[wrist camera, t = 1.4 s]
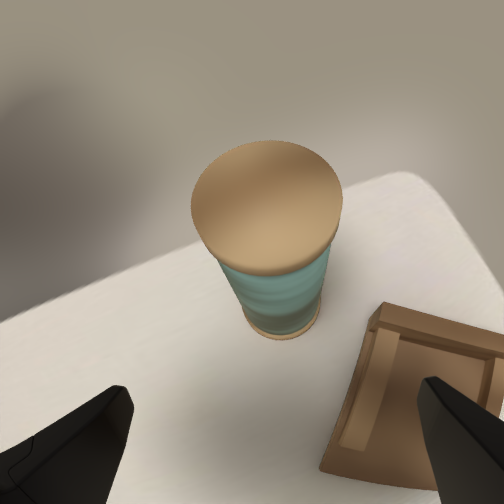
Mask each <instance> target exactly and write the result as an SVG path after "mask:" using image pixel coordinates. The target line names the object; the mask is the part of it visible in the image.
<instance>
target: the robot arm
mask: <svg viewBox="0 0 504 504" xmlns="http://www.w3.org/2000/svg"><path fill="white" fill-rule="evenodd" d="M417 407H418V412H419V417H420V422H421V427H422V432H423V437H424V442H425V446H426V450H427V453H428V457H429V460H430V463H431V467H432V470H433V474H434V477H435V481H436V485H437V488H438V492H439V496H440V500H441V504H504V421H502V420H501V419H499V418H498V417H496V416H495V415H493V414H492V413H490V412H489V411H487V410H486V409H484V408H483V407H481V406H480V405H479V404H477V403H476V402H474V401H473V400H471V399H470V398H468V397H467V396H465V395H464V394H462V393H461V392H459V391H458V390H456V389H455V388H454V387H452V386H451V385H449V384H448V383H446V382H445V381H443V380H442V379H440V378H439V377H437V376H429V377H425V378H423V379H422V381H421V385H420V388H419V392H418V395H417ZM133 413H134V404H133V402H132V399H131V397H130V395H129V392H128V390H127V388H126V387H124V386H119V385H113V386H111V387H110V388H108V389H106V390H105V391H103V392H102V393H100V394H99V395H97V396H96V397H94V398H92V399H91V400H89V401H88V402H86V403H85V404H83V405H81V406H80V407H78V408H77V409H75V410H74V411H72V412H70V413H69V414H67V415H66V416H64V417H62V418H61V419H59V420H57V421H56V422H54V423H53V424H51V425H49V426H48V427H46V428H44V429H43V430H41V431H40V432H38V433H36V434H35V435H34V436H31V437H30V438H28V439H26V440H25V441H23V442H21V443H19V444H18V445H16V446H14V447H12V448H10V449H8V450H6V451H4V452H2V453H0V504H106V502H107V499H108V496H109V493H110V490H111V487H112V484H113V481H114V478H115V475H116V472H117V470H118V467H119V464H120V461H121V458H122V455H123V453H124V449H125V446H126V442H127V438H128V433H129V429H130V425H131V421H132V417H133Z"/></svg>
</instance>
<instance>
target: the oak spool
mask: <svg viewBox="0 0 504 504" xmlns="http://www.w3.org/2000/svg"><path fill="white" fill-rule="evenodd" d="M342 202H343V196H342V189H341V185H340V182H339V180H338V177H337V175H336V173H335V172H334V170H333V169H332V168H331V166H330V165H329V164H328V163H327V162H326V161H325V160H324V159H323V158H322V157H321V156H319V155H318V154H316V153H315V152H313V151H311V150H309V149H307V148H305V147H302V146H300V145H297V144H294V143H290V142H284V141H259V142H253V143H248V144H244V145H241V146H238V147H236V148H234V149H232V150H229V151H228V152H226V153H224V154H222V155H221V156H220V157H218V158H217V159H216V160H214V162H212V163H211V164H210V165H209V166H208V167H207V168H206V169H205V170H204V172H203V173H202V174H201V176H200V177H199V179H198V181H197V183H196V185H195V188H194V191H193V194H192V199H191V213H192V218H193V222H194V225H195V227H196V229H197V231H198V233H199V235H200V237H201V239H202V241H203V242H204V244H205V246H206V247H207V249H208V250H209V252H210V253H211V254H212V255H213V256H214V257H215V258H216V259H217V260H218V262H219V264H220V266H221V268H222V270H223V272H224V274H225V276H226V277H227V279H228V281H229V283H230V285H231V287H232V289H233V291H234V292H235V294H236V296H237V298H238V300H239V302H240V303H241V305H242V309H243V312H244V315H245V317H246V319H247V321H248V322H249V324H250V325H251V327H252V328H253V329H254V330H255V331H256V332H258V333H259V334H261V335H262V336H264V337H266V338H269V339H273V340H288V339H293V338H295V337H298V336H300V335H301V334H303V333H304V332H306V331H307V330H308V329H309V328H310V327H311V326H312V324H313V323H314V321H315V320H316V317H317V315H318V312H319V308H320V302H321V296H320V294H321V289H322V285H323V280H324V276H325V271H326V266H327V261H328V256H329V251H330V246H331V242H332V240H333V239H334V237H335V234H336V232H337V229H338V225H339V220H340V215H341V210H342Z"/></svg>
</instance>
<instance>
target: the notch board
mask: <svg viewBox="0 0 504 504" xmlns="http://www.w3.org/2000/svg"><path fill="white" fill-rule="evenodd" d="M429 376H437V377H439V378H440V379H442V380H443V381H445V382H446V383H448V384H449V385H451V386H452V387H454V388H455V389H456V390H458V391H459V392H461V393H462V394H464V395H465V396H467V397H468V398H470V399H471V400H473V401H474V402H476V403H477V404H479V405H480V406H481V407H483V408H484V409H486V410H487V411H489V412H490V413H492V414H493V415H495V416H496V417H498V418H499V415H500V411H501V407H502V402H503V398H504V335H503V334H499V333H495V332H491V331H488V330H484V329H480V328H477V327H473V326H469V325H466V324H462V323H458V322H455V321H451V320H448V319H444V318H440V317H437V316H433V315H430V314H426V313H422V312H419V311H415V310H412V309H408V308H405V307H401V306H397V305H394V304H390V303H387V302H383V303H382V304H381V305H380V306H379V307H378V309H377V310H376V311H375V312H374V313H373V315H372V316H371V317H370V318H369V322H368V326H367V329H366V333H365V337H364V340H363V344H362V347H361V351H360V354H359V358H358V361H357V364H356V368H355V371H354V374H353V377H352V380H351V383H350V387H349V390H348V393H347V396H346V398H345V401H344V404H343V407H342V410H341V413H340V416H339V418H338V421H337V424H336V426H335V429H334V432H333V434H332V437H331V439H330V442H329V444H328V447H327V449H326V452H325V454H324V457H323V459H322V462H321V464H320V466H319V470H320V471H321V472H325V473H329V474H333V475H337V476H342V477H346V478H351V479H356V480H361V481H366V482H371V483H377V484H383V485H390V486H397V487H404V488H412V489H422V490H433V491H438V488H437V485H436V481H435V477H434V474H433V470H432V467H431V463H430V460H429V457H428V453H427V450H426V446H425V442H424V437H423V432H422V427H421V422H420V417H419V412H418V407H417V395H418V392H419V388H420V385H421V381H422V379H423V378H425V377H429Z"/></svg>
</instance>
